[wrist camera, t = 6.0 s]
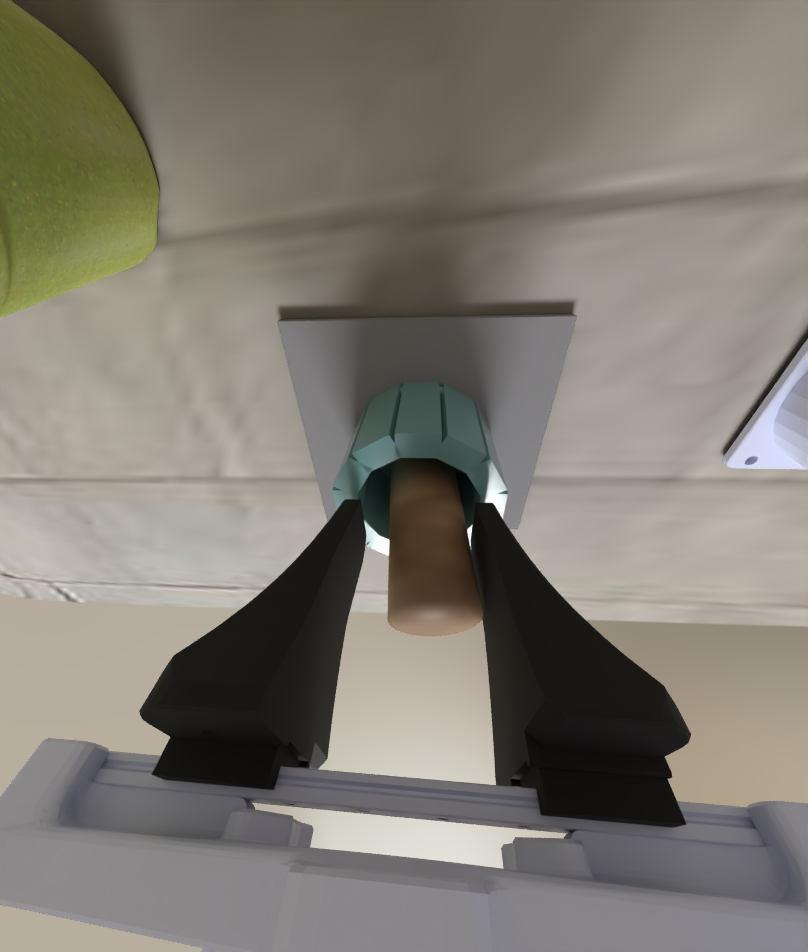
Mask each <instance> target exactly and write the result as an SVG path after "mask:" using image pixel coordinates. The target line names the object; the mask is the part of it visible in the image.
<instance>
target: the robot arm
mask: <svg viewBox="0 0 808 952" xmlns="http://www.w3.org/2000/svg"><path fill="white" fill-rule="evenodd" d="M723 463H725V464H726V465H727V466H728V467H730V468H757V469H808V339H807V340H806V342H805V343H804V344H803V346H802V347H801V349H800V350H799V351H798V353H797V354H796V356H795V357H794V358H793V360H792V361H791V363H790V364H789V366H788V367H787V368H786V370H785V371H784V373H783V374H782V375H781V377H780V378H779V380H778V381H777V382H776V384H775V385H774V387H773V388H772V389H771V391H770V392H769V394H768V395H767V396H766V398H765V399H764V401H763V402H762V404H761V405H760V406H759V408H758V409H757V411H756V412H755V413H754V415H753V416H752V418H751V419H750V420H749V422H748V423H747V425H746V426H745V427H744V429H743V430H742V432H741V433H740V435H739V436H738V437H737V439H736V440H735V442H734V443H733V444H732V446H731V447H730V449H729V450H728V451H727V453H726V454H725V456H724V458H723ZM470 542H471V553H472V558H473V563H474V569H475V574H476V579H477V584H478V589H479V594H480V600H481V605H482V610H483V618H482V619H483V625H484V632H485V642H486V652H487V661H488V662H487V663H488V674H489V685H490V699H491V713H492V726H493V742H494V758H495V777H496V785H487V784H474V783H464V782H452V781H441V780H430V779H419V778H407V777H396V776H385V775H373V774H362V773H350V772H339V771H328V770H317V769H318V768H319V767H320V766H321V765H322V764H323V763H324V762H325V761H326V760H327V757H328V748H329V740H330V732H331V724H332V716H333V707H334V701H335V694H336V687H337V680H338V673H339V666H340V660H341V653H342V648H343V641H344V636H345V630H346V624H347V620H348V616H349V612H350V608H351V604H352V600H353V597H354V593H355V589H356V585H357V582H358V578H359V574H360V570H361V566H362V563H363V557H364V551H365V544H366V529H365V523H364V516H363V510H362V503H361V500H357V499H345V500H344V501H343V502H342V503H341V505H340V506H339V507H338V509H337V510H336V512H335V513H334V514H333V516H332V517H331V518H330V520H329V521H328V522H327V524H326V525H325V526H324V527H323V529H322V530H321V531H320V532H319V534H318V535H317V536H316V537H315V539H314V540H313V541H312V542H311V543H310V544H309V546H308V547H307V548H306V549H305V550H304V551H303V552H302V553H301V554H300V556H299V557H298V558H297V559H296V560H295V561H294V562H293V563H292V564H291V565H290V566H289V567H288V568H287V569H286V570H285V571H284V572H283V573H282V574H281V575H280V576H279V577H278V578H277V579H276V580H275V581H274V582H272V583H271V584H270V585H269V586H268V587H267V588H266V589H265V590H263V591H262V592H261V593H260V594H259V595H258V596H256V597H255V598H254V599H253V600H252V601H250V602H249V603H248V604H247V605H245V606H244V607H243V608H242V609H240V610H239V611H238V612H236V613H235V614H234V615H232V616H231V617H230V618H228V619H227V620H226V621H224V622H223V623H222V624H220V625H219V626H218V627H216V628H215V629H214V630H212V631H210V632H209V633H207V634H206V635H204V636H203V637H201V638H200V639H198V640H197V641H195V642H194V643H192V644H191V645H189V646H188V647H186V648H185V649H183V650H182V651H180V652H179V653H177V654H176V655H174V656H173V658H172V659H171V661H170V662H169V663H168V665H167V666H166V668H165V670H164V671H163V673H162V674H161V676H160V677H159V679H158V681H157V683H156V684H155V686H154V688H153V689H152V691H151V693H150V694H149V696H148V698H147V699H146V701H145V703H144V704H143V706H142V708H141V709H140V715H141V717H142V719H143V720H144V721H146V722H147V723H148V724H150V725H152V726H153V727H155V728H157V729H158V730H160V731H162V732H163V733H165V734H167V735H169V736H170V739H169V741H168V743H167V745H166V747H165V749H164V751H163V753H162V755H161V756H157V755H147V754H135V753H123V752H113V751H109V750H108V749H107V748H105V747H103V746H101V745H98V744H95V743H91V742H85V741H76V740H64V739H52V738H48V739H46V740H44V741H43V742H42V743H41V744H40V746H39V747H38V748H37V750H36V751H35V752H34V753H33V755H32V756H31V757H30V759H29V760H28V761H27V763H26V764H25V765H24V767H23V768H22V769H21V771H20V772H19V773H18V775H17V776H16V777H15V779H14V780H13V781H12V782H11V784H10V785H9V786H8V788H7V789H6V790H5V792H4V793H3V794H2V796H1V797H0V905H4V906H9V907H14V908H19V909H24V910H29V911H33V912H38V913H42V914H48V915H52V916H56V917H61V918H66V919H70V920H75V921H80V922H84V923H89V924H93V925H98V926H103V927H108V928H112V929H117V930H121V931H126V932H130V933H135V934H140V935H145V936H149V937H154V938H158V939H163V940H168V941H173V942H177V943H181V944H186V945H191V946H195V947H200V948H202V951H201V952H808V804H806V803H794V802H782V801H765V802H757V803H753V804H750V805H748V807H736V806H725V805H714V804H702V803H690V802H680V801H679V802H678V801H676V798H675V796H674V793H673V791H672V789H671V786H670V784H669V782H668V779H667V778H672V773H671V770H670V768H669V766H668V764H667V761H666V759H665V756H666V755H669V754H671V753H672V752H674V751H676V750H678V749H680V748H682V747H684V746H685V745H686V744H687V743H688V742H689V740H690V736H691V733H690V731H689V729H688V727H687V725H686V723H685V722H684V720H683V718H682V716H681V714H680V712H679V710H678V708H677V707H676V705H675V703H674V701H673V700H672V698H671V697H670V695H669V694H668V692H667V690H666V689H665V687H664V686H663V685H662V684H661V683H660V682H658V681H657V680H656V679H655V678H653V677H652V676H651V675H649V674H648V673H647V672H646V671H644V670H643V669H642V668H641V667H639V666H638V665H637V664H635V663H634V662H633V661H632V660H630V659H629V658H628V657H626V656H625V655H624V654H623V653H622V652H620V651H619V650H618V649H617V648H616V647H615V646H613V645H612V644H611V643H610V642H609V641H608V640H607V639H605V638H604V637H603V636H602V635H601V634H600V633H599V632H598V631H597V630H595V628H593V627H592V626H591V625H590V624H589V623H588V622H587V621H586V620H585V619H584V618H583V617H582V616H581V615H580V614H579V613H578V612H577V611H575V610H574V609H573V608H572V606H571V605H570V604H569V603H568V602H567V601H566V600H565V599H564V598H563V597H562V596H561V595H560V594H559V593H558V592H557V591H556V590H555V588H554V587H553V586H552V585H551V584H550V583H549V582H548V581H547V579H546V578H545V577H544V576H543V575H542V573H541V572H540V571H539V570H538V568H537V567H536V566H535V565H534V563H533V562H532V561H531V560H530V558H529V557H528V556H527V554H526V553H525V552H524V550H523V549H522V547H521V546H520V544H519V543H518V542H517V540H516V539H515V537H514V536H513V534H512V533H511V531H510V530H509V528H508V526H507V525H506V523H505V522H504V520H503V518H502V517H501V515H500V513H499V511H498V510H497V508H496V506H495V505H494V504H493V503H482V502H476V504H475V511H474V518H473V525H472V532H471V538H470ZM252 803H261V804H271V805H282V806H292V807H302V808H312V809H323V810H333V811H343V812H353V813H363V814H374V815H384V816H394V817H405V818H415V819H426V820H435V821H445V822H456V823H467V824H476V825H477V824H478V825H487V826H497V827H507V828H517V829H527V830H538V831H548V832H558V833H568V834H567V835H566V836H565V837H564V839H559V838H522V837H521V838H520V837H516V838H515V839H514V841H513V843H511V844H504V845H503V846H502V848H501V850H502V859H503V867H504V869H500V868H493V867H484V866H476V865H468V864H460V863H452V862H444V861H435V860H426V859H417V858H407V857H399V856H390V855H380V854H371V853H361V852H351V851H340V850H329V849H318V848H310V844H311V839H312V834H313V827H312V826H311V825H308V824H305V823H301V822H299V821H297V820H294V819H293V816H290V815H284V814H278V813H272V812H266V811H260V810H255V807H254V805H253V804H252Z"/></svg>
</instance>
